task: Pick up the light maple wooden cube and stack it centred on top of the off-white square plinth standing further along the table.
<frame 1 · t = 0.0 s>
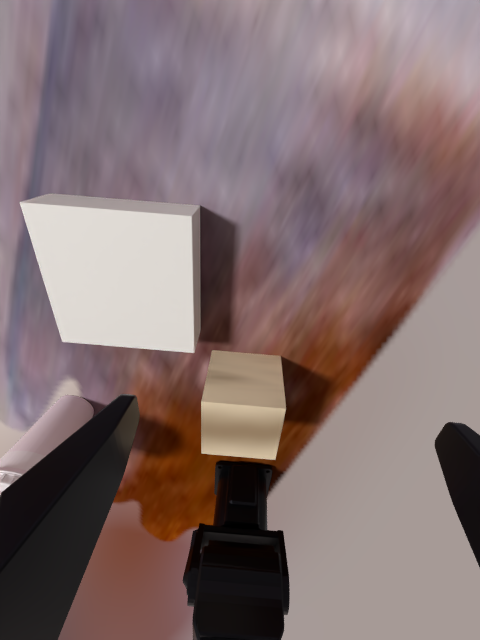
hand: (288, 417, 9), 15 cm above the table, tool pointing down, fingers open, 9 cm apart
smoothie: (76, 406, 31), on the table
maple cube: (243, 378, 28), on the table
plinth: (134, 269, 23), on the table
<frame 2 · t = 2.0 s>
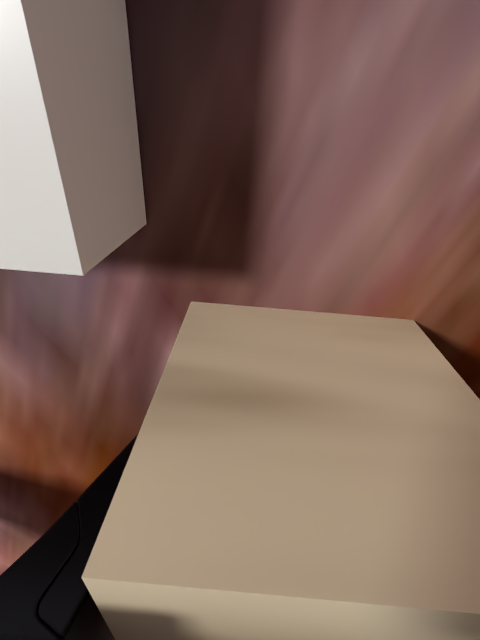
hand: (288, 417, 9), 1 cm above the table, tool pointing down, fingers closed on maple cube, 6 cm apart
maple cube: (285, 389, 10), on the table, touching gripper
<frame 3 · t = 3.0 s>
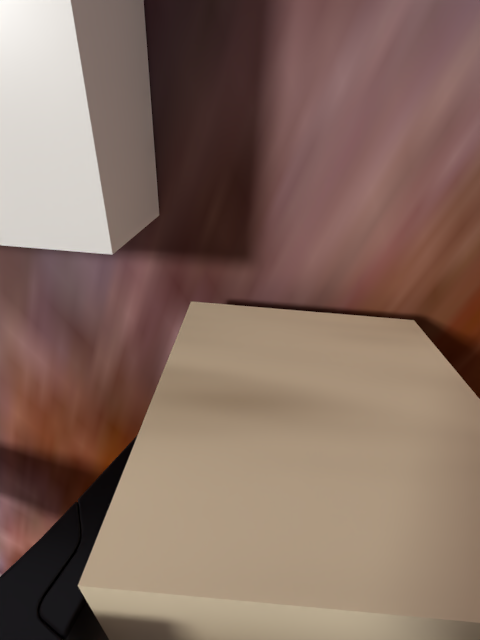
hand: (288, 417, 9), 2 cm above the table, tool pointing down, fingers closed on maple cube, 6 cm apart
maple cube: (285, 391, 10), point 1 cm above the table, touching gripper
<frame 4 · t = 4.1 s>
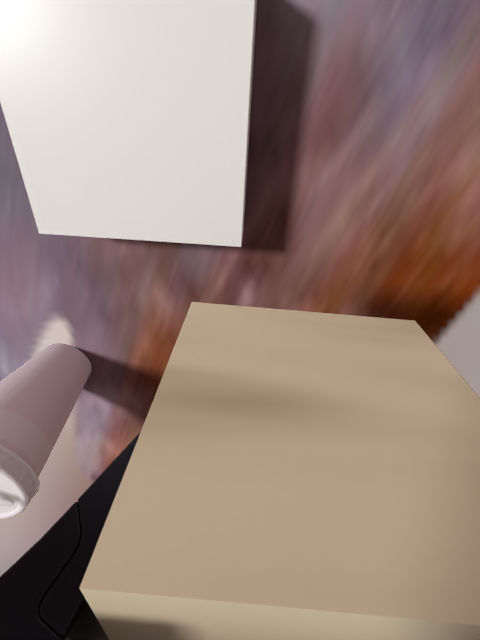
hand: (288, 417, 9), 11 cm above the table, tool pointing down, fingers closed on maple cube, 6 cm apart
smoothie: (68, 361, 23), on the table
maple cube: (286, 391, 10), point 10 cm above the table, touching gripper
plinth: (147, 121, 15), on the table
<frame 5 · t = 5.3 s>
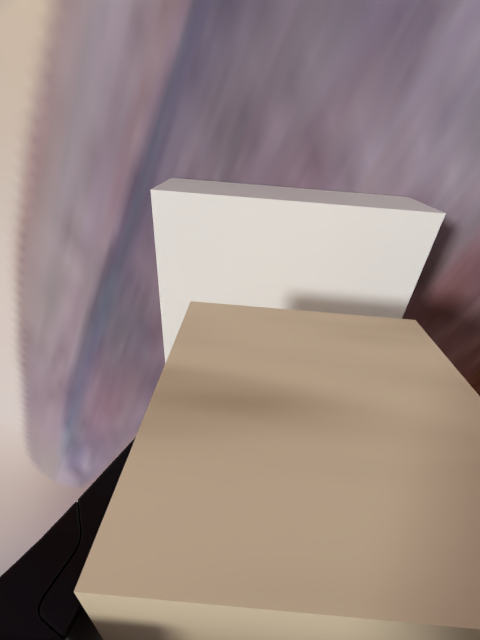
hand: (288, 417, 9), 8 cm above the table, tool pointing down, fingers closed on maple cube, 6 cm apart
maple cube: (286, 391, 10), point 7 cm above the table, touching gripper
plinth: (274, 292, 15), on the table
when the fingers open (5 cm above the table, at t = 6.2 s): maple cube drops 1 cm, resting on plinth.
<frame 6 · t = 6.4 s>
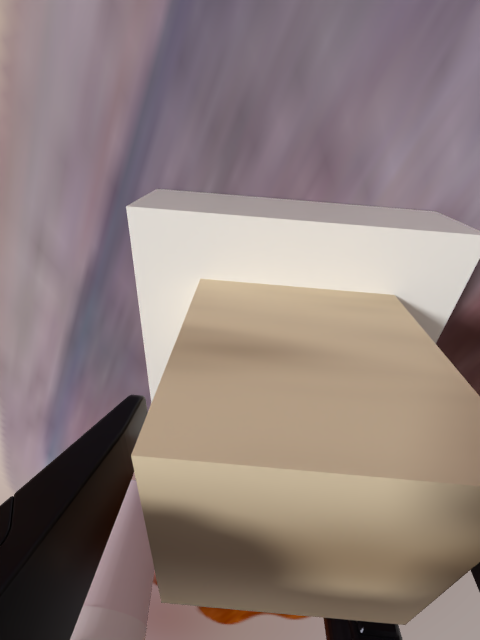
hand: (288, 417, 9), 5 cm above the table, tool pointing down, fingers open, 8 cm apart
smoothie: (140, 491, 22), on the table
maple cube: (283, 361, 11), point 3 cm above the table, touching plinth
plinth: (277, 318, 13), on the table
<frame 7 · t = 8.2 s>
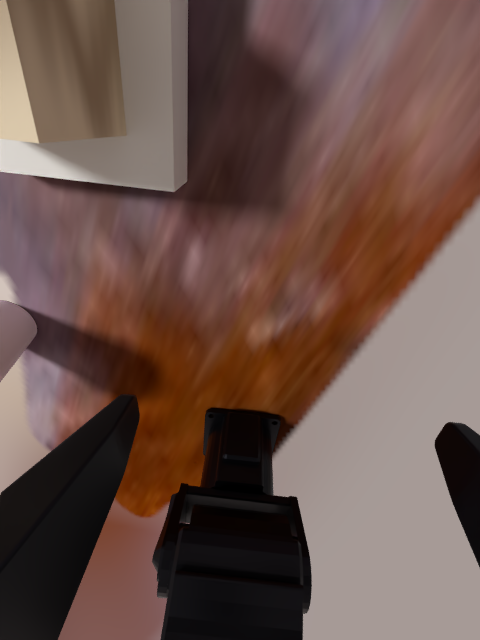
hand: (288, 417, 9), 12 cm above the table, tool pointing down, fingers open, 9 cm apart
smoothie: (13, 320, 22), on the table
maple cube: (35, 29, 11), point 3 cm above the table, touching plinth
plinth: (76, 47, 13), on the table
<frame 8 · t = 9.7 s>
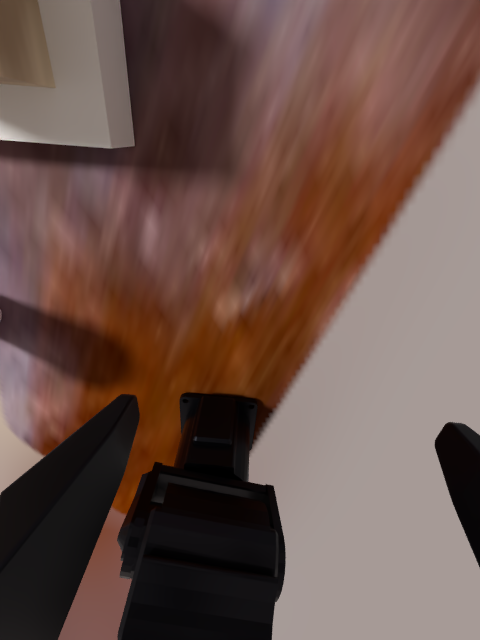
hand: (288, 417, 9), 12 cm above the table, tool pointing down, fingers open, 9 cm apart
plinth: (8, 6, 13), on the table
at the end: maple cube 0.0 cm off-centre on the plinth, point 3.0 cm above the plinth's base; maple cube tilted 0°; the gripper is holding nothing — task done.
